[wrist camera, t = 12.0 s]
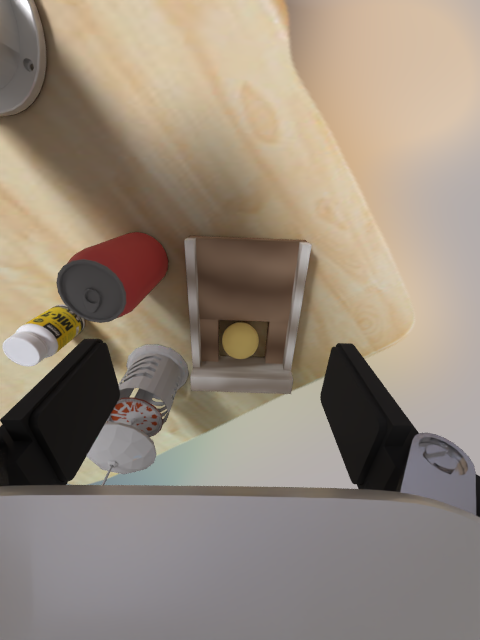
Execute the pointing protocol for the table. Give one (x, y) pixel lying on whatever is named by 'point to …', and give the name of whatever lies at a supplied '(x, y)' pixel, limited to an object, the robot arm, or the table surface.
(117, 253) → the beer can
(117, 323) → the table surface
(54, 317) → the supplement bottle
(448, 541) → the robot arm
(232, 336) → the ball
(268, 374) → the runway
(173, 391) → the french press
